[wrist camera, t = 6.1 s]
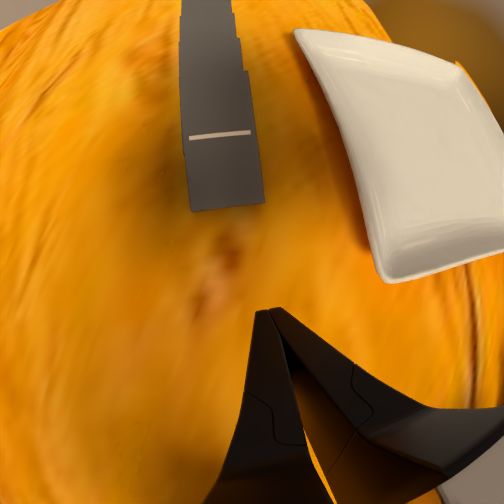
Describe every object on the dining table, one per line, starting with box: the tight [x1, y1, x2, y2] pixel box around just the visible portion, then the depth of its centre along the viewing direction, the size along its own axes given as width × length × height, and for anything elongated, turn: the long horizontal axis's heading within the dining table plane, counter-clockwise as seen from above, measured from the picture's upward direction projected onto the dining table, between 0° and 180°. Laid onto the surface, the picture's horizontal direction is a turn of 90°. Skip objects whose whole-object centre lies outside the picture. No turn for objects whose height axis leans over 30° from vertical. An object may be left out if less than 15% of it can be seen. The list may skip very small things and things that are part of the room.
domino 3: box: [179, 38, 243, 157], centre depth 21 cm, size 2×5×10 cm
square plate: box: [293, 28, 504, 284], centre depth 24 cm, size 27×27×4 cm
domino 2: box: [180, 13, 237, 42], centre depth 22 cm, size 2×5×10 cm
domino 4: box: [179, 71, 265, 212], centre depth 20 cm, size 2×5×10 cm
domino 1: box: [181, 0, 232, 16], centre depth 23 cm, size 2×5×10 cm
